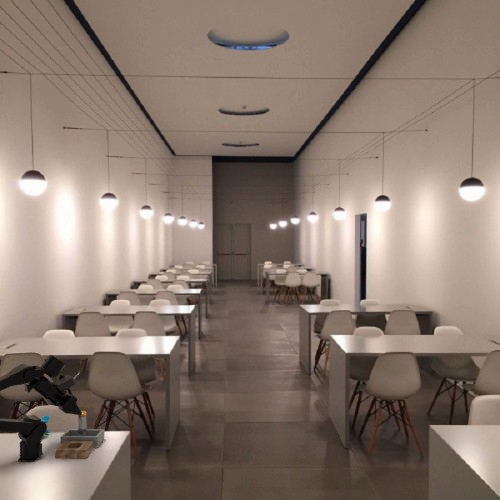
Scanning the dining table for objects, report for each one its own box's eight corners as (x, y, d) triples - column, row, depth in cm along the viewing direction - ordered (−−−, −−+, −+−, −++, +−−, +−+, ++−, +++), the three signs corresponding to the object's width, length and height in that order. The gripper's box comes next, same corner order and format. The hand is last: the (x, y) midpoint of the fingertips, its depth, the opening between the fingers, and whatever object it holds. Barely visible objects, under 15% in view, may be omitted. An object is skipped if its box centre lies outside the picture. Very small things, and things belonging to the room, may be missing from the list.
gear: (29, 427, 210) (47, 409, 211) (40, 436, 212) (58, 418, 213) (26, 441, 200) (46, 422, 201) (38, 450, 202) (58, 430, 203)
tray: (60, 447, 194) (60, 436, 194) (68, 439, 202) (68, 429, 202) (97, 447, 193) (97, 437, 193) (104, 439, 201) (104, 429, 201)
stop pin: (79, 443, 195) (78, 414, 195) (77, 440, 198) (76, 411, 198) (87, 441, 197) (87, 412, 196) (86, 438, 200) (85, 410, 199)
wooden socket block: (55, 458, 184) (55, 449, 184) (64, 449, 192) (64, 441, 192) (86, 458, 184) (85, 450, 184) (93, 449, 192) (93, 441, 192)
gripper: (71, 374, 185) (101, 398, 192) (51, 365, 199) (79, 388, 206) (49, 401, 180) (81, 424, 187) (30, 390, 193) (60, 412, 201)
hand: (75, 411), depth 196 cm, fingers open, 9 cm apart
